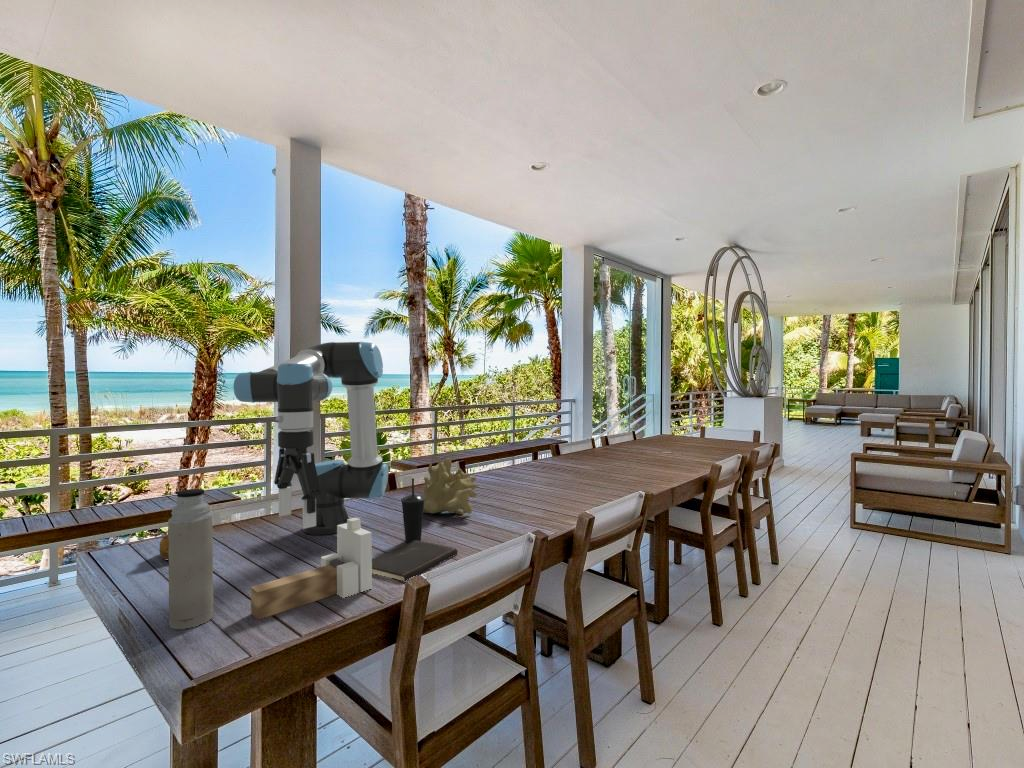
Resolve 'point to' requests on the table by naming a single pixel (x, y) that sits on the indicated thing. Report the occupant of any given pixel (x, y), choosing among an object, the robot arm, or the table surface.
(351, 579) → the white block with nub
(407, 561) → the hardcover book
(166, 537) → the bread roll
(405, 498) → the drinking cup
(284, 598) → the tan piece
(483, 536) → the table surface
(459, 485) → the decorative coral
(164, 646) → the table surface
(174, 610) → the thermos bottle
